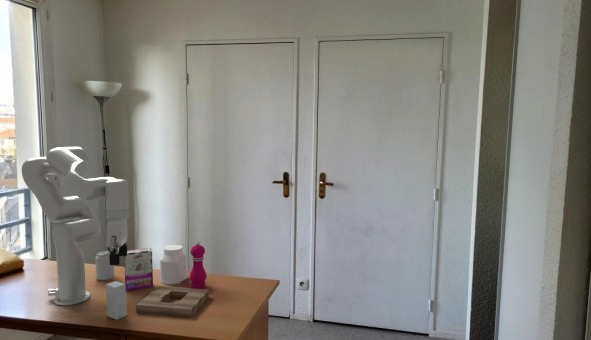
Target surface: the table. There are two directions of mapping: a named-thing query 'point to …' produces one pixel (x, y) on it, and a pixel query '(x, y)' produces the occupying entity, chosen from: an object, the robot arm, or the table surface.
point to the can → (104, 266)
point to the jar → (173, 265)
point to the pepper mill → (198, 267)
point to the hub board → (184, 307)
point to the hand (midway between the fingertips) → (118, 260)
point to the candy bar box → (138, 269)
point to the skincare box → (116, 300)
